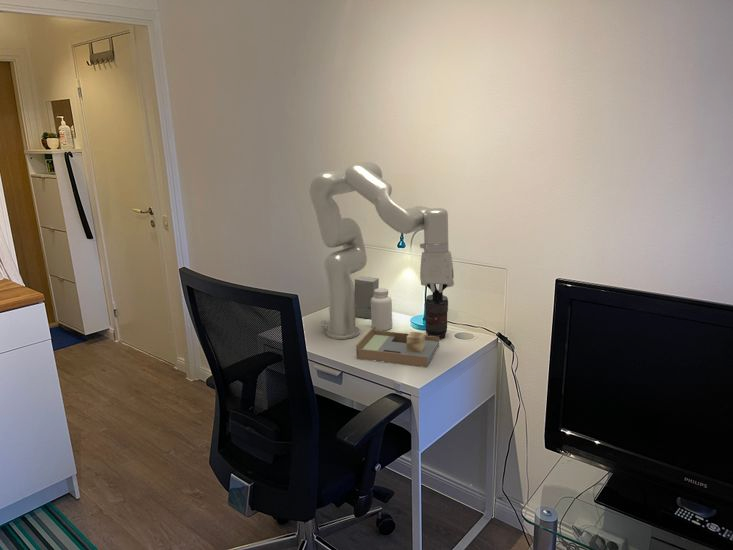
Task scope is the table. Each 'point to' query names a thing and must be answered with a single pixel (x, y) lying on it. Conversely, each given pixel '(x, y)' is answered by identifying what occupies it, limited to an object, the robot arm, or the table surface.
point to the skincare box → (364, 295)
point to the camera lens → (436, 317)
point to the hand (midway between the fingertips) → (437, 303)
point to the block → (415, 341)
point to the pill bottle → (381, 310)
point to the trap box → (394, 348)
